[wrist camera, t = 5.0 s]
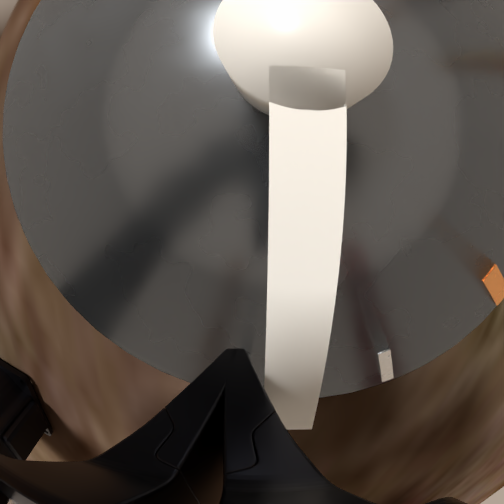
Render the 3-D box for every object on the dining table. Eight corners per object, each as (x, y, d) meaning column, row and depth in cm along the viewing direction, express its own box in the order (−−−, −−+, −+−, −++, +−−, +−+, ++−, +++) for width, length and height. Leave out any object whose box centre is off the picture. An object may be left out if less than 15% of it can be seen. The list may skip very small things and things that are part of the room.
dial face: (19, 316, 12) (11, 321, 11) (98, -93, 4) (93, -99, 3) (461, 395, 11) (466, 403, 11) (525, -16, 4) (532, -19, 3)
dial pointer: (228, 4, 6) (216, -32, 4) (361, 11, 6) (381, -21, 4) (233, 385, 10) (225, 426, 8) (338, 386, 10) (347, 427, 8)
